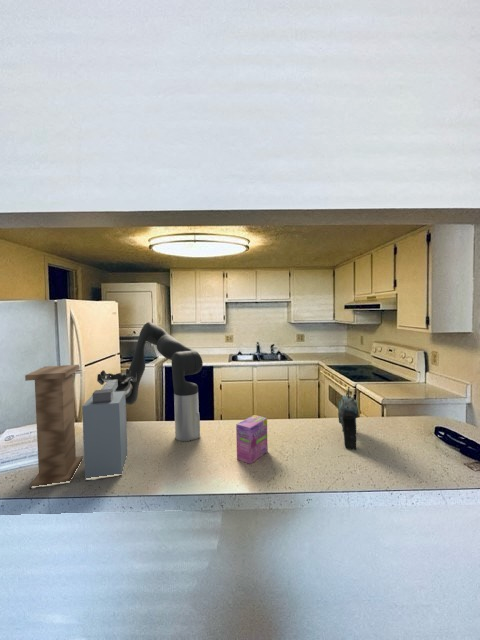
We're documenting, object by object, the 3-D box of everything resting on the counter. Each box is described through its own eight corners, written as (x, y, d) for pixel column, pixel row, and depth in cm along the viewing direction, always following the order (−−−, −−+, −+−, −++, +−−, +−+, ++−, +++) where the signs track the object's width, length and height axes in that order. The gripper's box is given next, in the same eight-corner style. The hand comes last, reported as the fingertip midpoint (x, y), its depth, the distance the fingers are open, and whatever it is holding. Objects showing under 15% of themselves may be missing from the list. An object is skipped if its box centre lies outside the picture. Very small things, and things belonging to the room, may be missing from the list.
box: (250, 464, 95) (249, 427, 95) (236, 459, 99) (235, 423, 98) (268, 451, 103) (267, 417, 103) (254, 447, 107) (253, 414, 106)
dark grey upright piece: (360, 452, 101) (359, 393, 101) (339, 450, 103) (339, 392, 102) (353, 429, 120) (353, 379, 120) (336, 428, 122) (336, 379, 122)
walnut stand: (82, 460, 100) (78, 364, 99) (69, 483, 87) (65, 372, 86) (49, 464, 98) (44, 366, 97) (30, 489, 84) (25, 375, 83)
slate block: (127, 454, 104) (125, 391, 103) (121, 475, 90) (119, 402, 90) (95, 458, 101) (93, 393, 101) (85, 481, 88) (82, 406, 87)
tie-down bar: (106, 387, 109) (105, 378, 109) (120, 386, 110) (120, 377, 110) (92, 403, 89) (92, 393, 89) (111, 402, 91) (110, 392, 90)
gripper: (103, 377, 128) (95, 363, 114) (138, 374, 132) (135, 361, 118) (102, 395, 125) (93, 383, 111) (138, 391, 128) (134, 380, 114)
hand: (115, 372), depth 114 cm, fingers open, 8 cm apart
